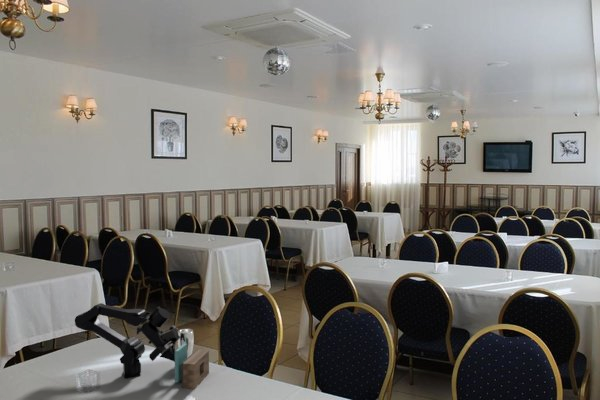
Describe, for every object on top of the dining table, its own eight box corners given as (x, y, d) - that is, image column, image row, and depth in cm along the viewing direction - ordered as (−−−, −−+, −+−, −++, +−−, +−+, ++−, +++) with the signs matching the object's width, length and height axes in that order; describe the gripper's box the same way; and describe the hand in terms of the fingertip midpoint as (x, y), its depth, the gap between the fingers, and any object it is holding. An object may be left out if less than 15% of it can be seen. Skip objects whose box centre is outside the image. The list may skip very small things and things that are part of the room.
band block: (181, 387, 208) (181, 363, 208) (196, 372, 224) (196, 349, 223) (194, 388, 207) (194, 364, 207) (209, 373, 223) (208, 350, 222)
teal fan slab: (175, 381, 213) (174, 350, 212) (184, 373, 221) (183, 343, 221) (191, 383, 211) (191, 352, 210) (200, 374, 220) (199, 344, 219)
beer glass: (190, 367, 230) (189, 333, 229) (175, 365, 231) (175, 332, 230) (196, 361, 236) (196, 329, 236) (182, 360, 238) (181, 328, 237)
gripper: (155, 328, 207) (182, 357, 206) (175, 315, 226) (200, 341, 224) (138, 346, 209) (164, 375, 208) (159, 332, 228) (183, 358, 226)
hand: (178, 361), depth 217 cm, fingers closed, pressing on teal fan slab
